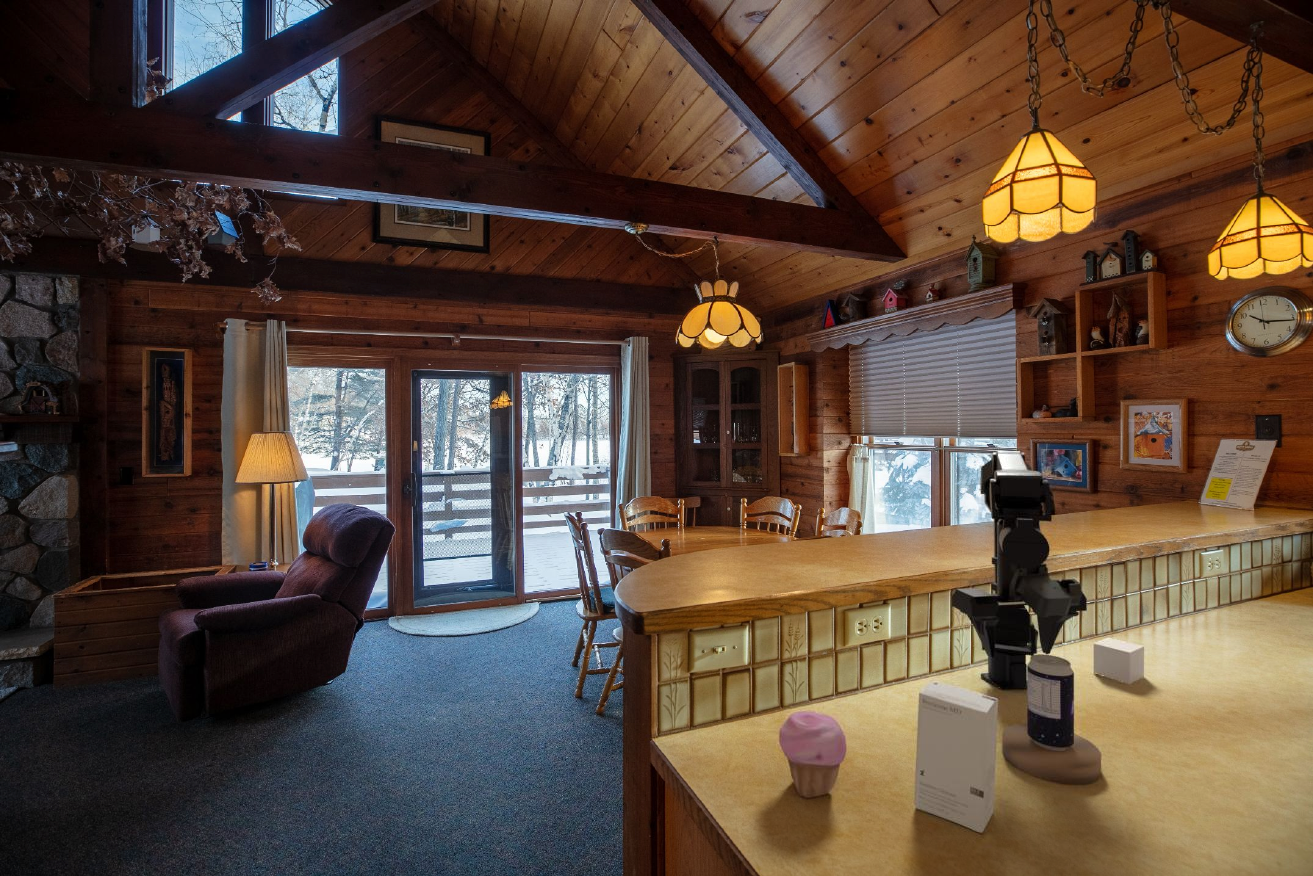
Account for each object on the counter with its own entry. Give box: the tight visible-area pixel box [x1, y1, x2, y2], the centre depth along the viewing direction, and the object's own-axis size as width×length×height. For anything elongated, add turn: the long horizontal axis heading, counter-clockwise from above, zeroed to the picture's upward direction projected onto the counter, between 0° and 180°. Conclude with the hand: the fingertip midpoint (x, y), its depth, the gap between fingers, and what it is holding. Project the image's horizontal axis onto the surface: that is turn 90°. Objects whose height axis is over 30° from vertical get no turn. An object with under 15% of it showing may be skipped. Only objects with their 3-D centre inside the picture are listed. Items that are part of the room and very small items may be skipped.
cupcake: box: [778, 710, 847, 799], centre depth 84 cm, size 9×9×10 cm
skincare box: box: [913, 680, 999, 834], centre depth 79 cm, size 8×6×15 cm
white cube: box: [1093, 637, 1145, 685], centre depth 120 cm, size 6×6×6 cm
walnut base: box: [1001, 723, 1102, 786], centre depth 90 cm, size 12×12×2 cm
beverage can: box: [1026, 653, 1075, 751], centre depth 90 cm, size 6×6×12 cm
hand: (1018, 655), depth 97 cm, fingers open, 9 cm apart
